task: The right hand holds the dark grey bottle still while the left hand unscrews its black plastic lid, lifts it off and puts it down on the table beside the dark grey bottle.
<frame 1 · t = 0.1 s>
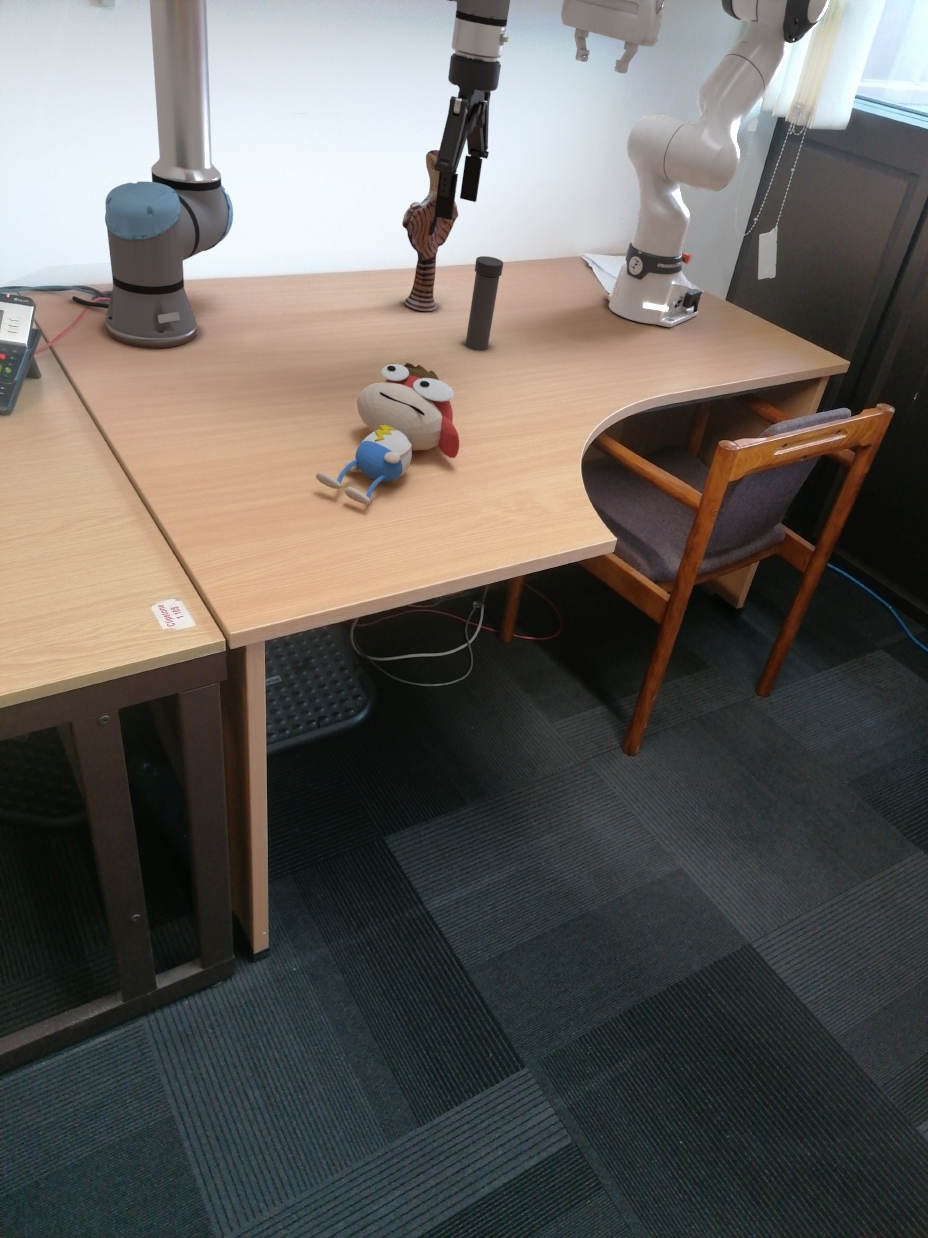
left hand: (456, 208, 144), 28 cm above the table, tool pointing down, fingers open, 13 cm apart
right hand: (600, 66, 156), 48 cm above the table, tool pointing down, fingers open, 8 cm apart
toy: (388, 459, 134), on the table
lid: (489, 262, 165), point 16 cm above the table, screwed on, not yet turned
figurine: (422, 306, 187), on the table
dark grey bottle: (476, 345, 175), on the table
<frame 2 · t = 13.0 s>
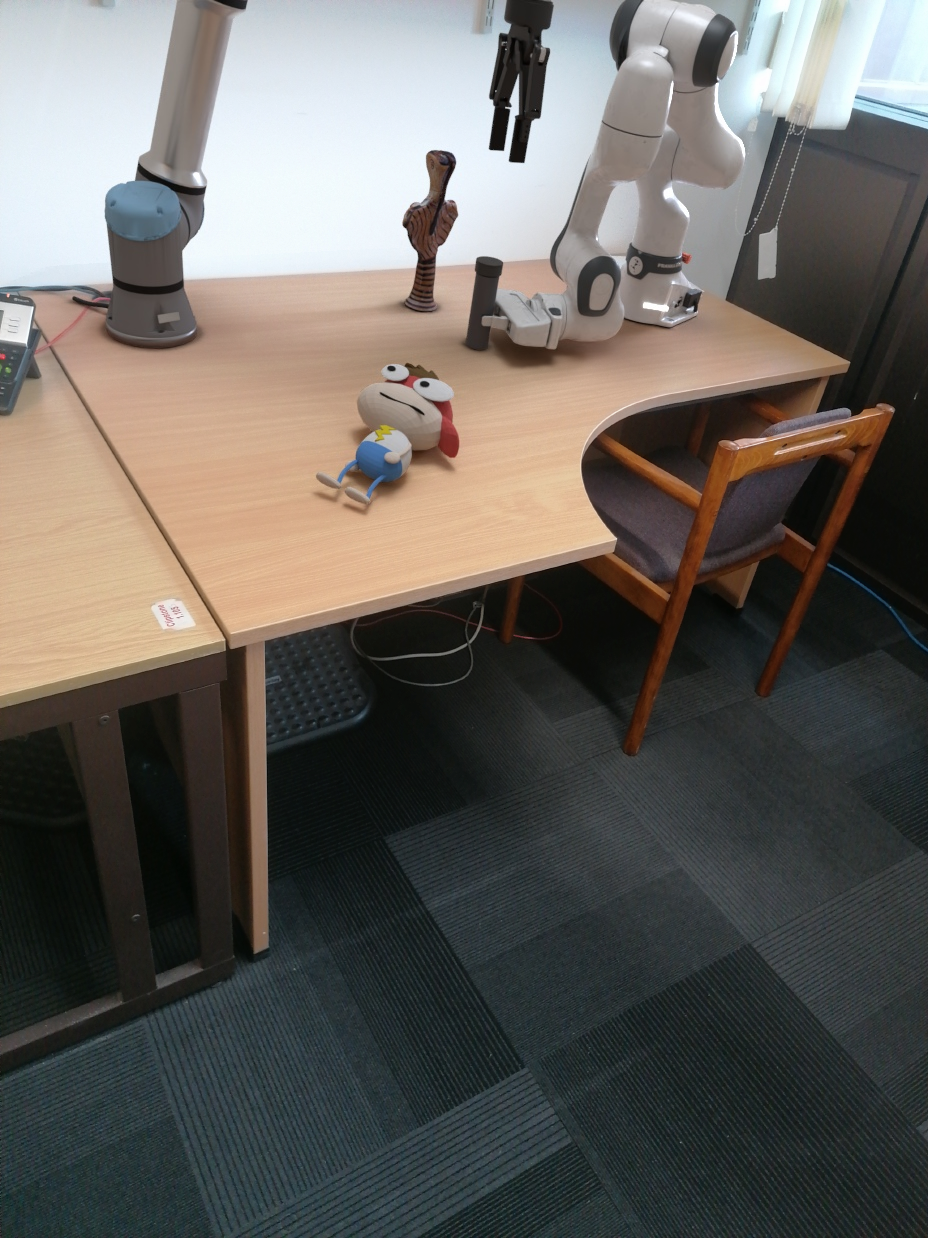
left hand: (506, 155, 153), 34 cm above the table, tool pointing down, fingers open, 7 cm apart
right hand: (477, 313, 170), 6 cm above the table, tool horizontal, fingers closed on dark grey bottle, 4 cm apart
dark grey bottle: (476, 345, 175), on the table, touching right hand
everything else where it was.
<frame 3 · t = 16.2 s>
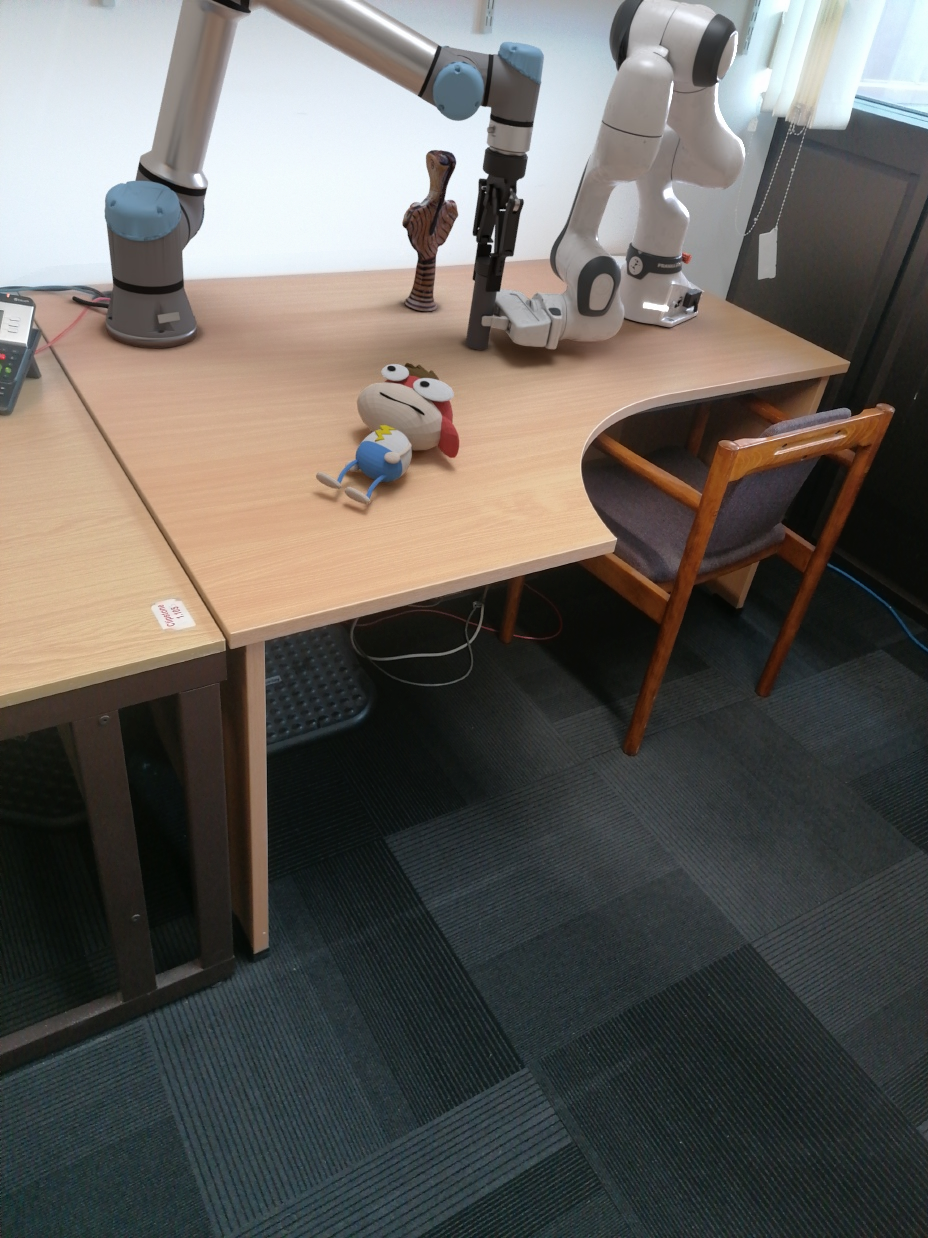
left hand: (486, 284, 167), 12 cm above the table, tool pointing down, fingers closed on lid, 5 cm apart
right hand: (477, 313, 170), 6 cm above the table, tool horizontal, fingers closed on dark grey bottle, 4 cm apart
lid: (489, 262, 165), point 16 cm above the table, screwed on, not yet turned, touching left hand
dark grey bottle: (476, 345, 175), on the table, touching right hand
everything else where it was.
when the left hand's fingers open (12 cm above the table, at t = 17.8 s): lid stays where it is, point 16 cm above the table.
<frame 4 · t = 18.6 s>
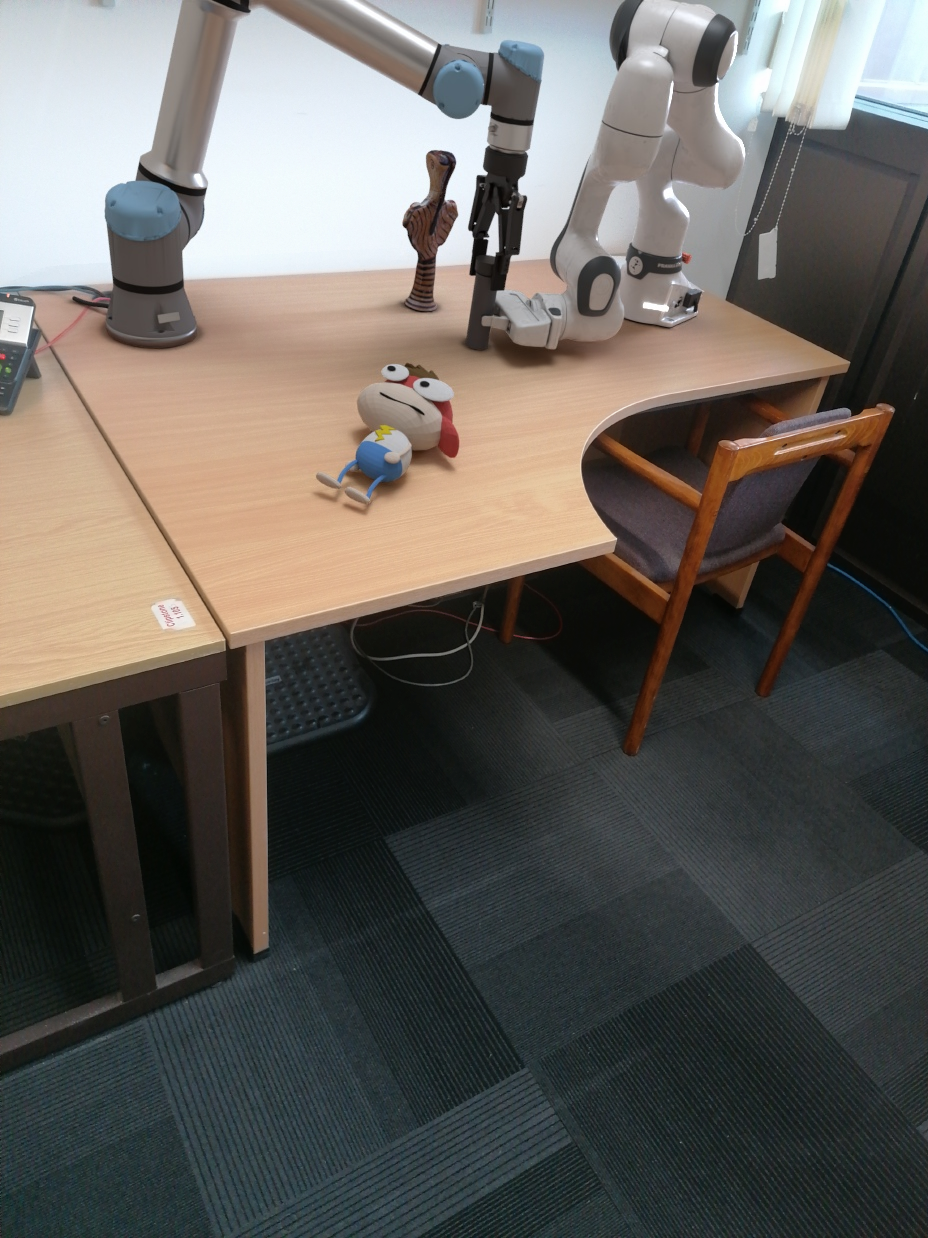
left hand: (486, 281, 167), 12 cm above the table, tool pointing down, fingers open, 7 cm apart
right hand: (477, 313, 170), 6 cm above the table, tool horizontal, fingers closed on dark grey bottle, 4 cm apart
lid: (489, 261, 165), point 16 cm above the table, turned 101° so far, risen 0.2 cm, still on its thread
dark grey bottle: (476, 345, 175), on the table, touching right hand
everything else where it was.
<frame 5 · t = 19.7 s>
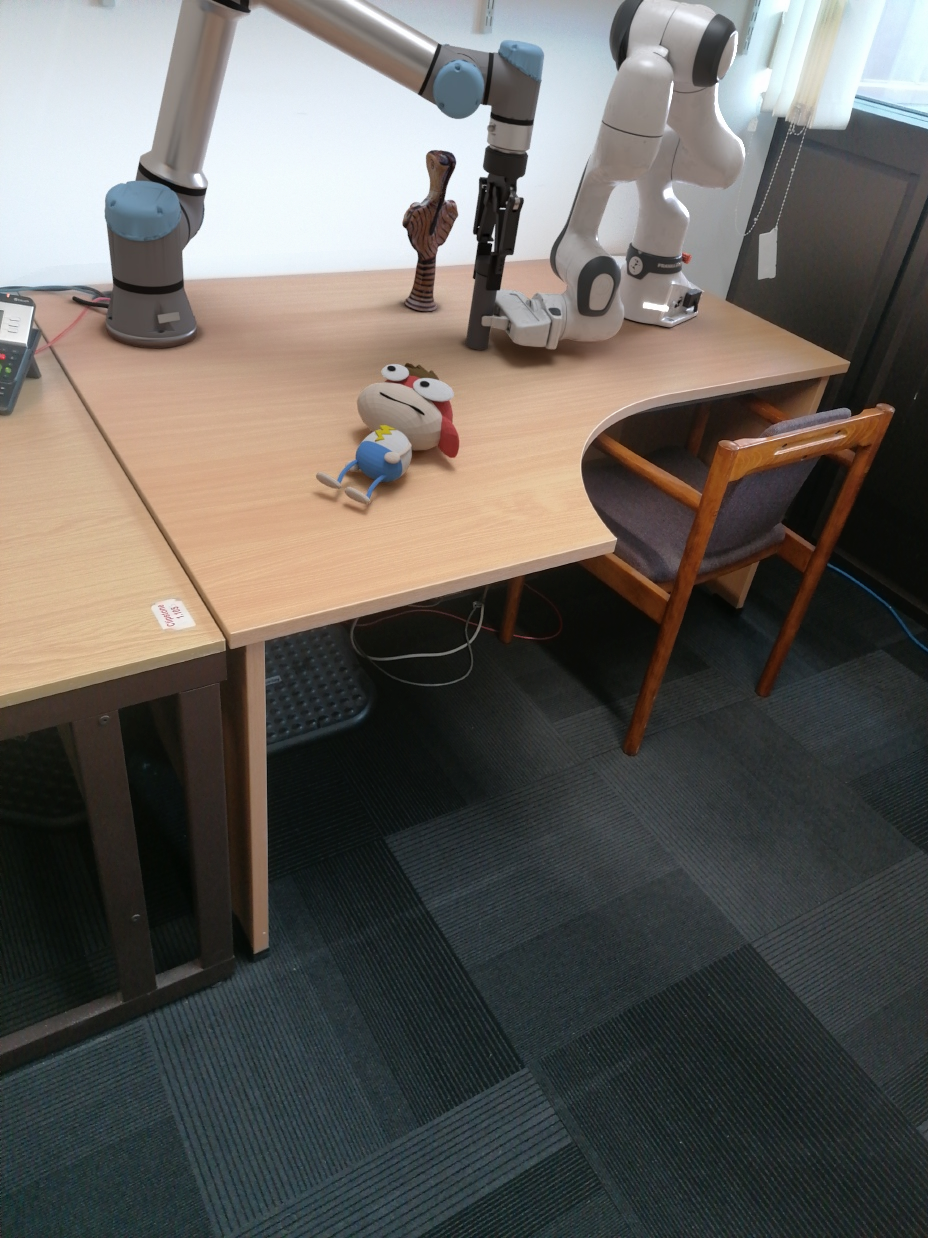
left hand: (486, 283, 167), 12 cm above the table, tool pointing down, fingers closed on lid, 5 cm apart
right hand: (477, 313, 170), 6 cm above the table, tool horizontal, fingers closed on dark grey bottle, 4 cm apart
lid: (489, 261, 165), point 16 cm above the table, turned 101° so far, risen 0.2 cm, still on its thread, touching left hand
dark grey bottle: (476, 345, 175), on the table, touching right hand
everything else where it was.
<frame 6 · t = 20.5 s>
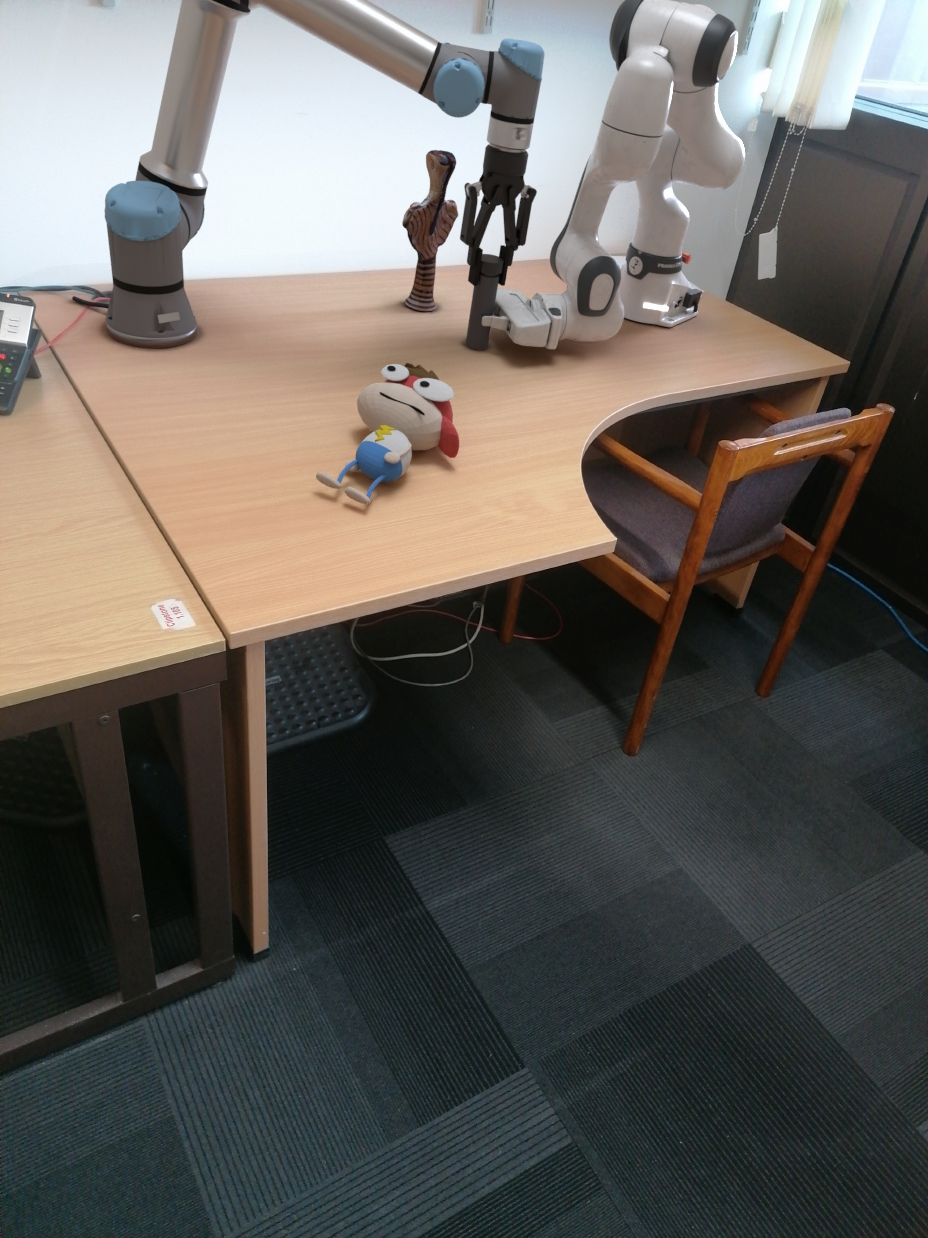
left hand: (486, 282, 167), 12 cm above the table, tool pointing down, fingers closed on lid, 5 cm apart
right hand: (477, 313, 170), 6 cm above the table, tool horizontal, fingers closed on dark grey bottle, 4 cm apart
lid: (489, 260, 164), point 16 cm above the table, off its thread, touching left hand
dark grey bottle: (476, 345, 175), on the table, touching right hand
everything else where it was.
when the left hand's fingers open (0 cm above the table, at t = 29.3 s): lid drops 3 cm, point 2 cm above the table.
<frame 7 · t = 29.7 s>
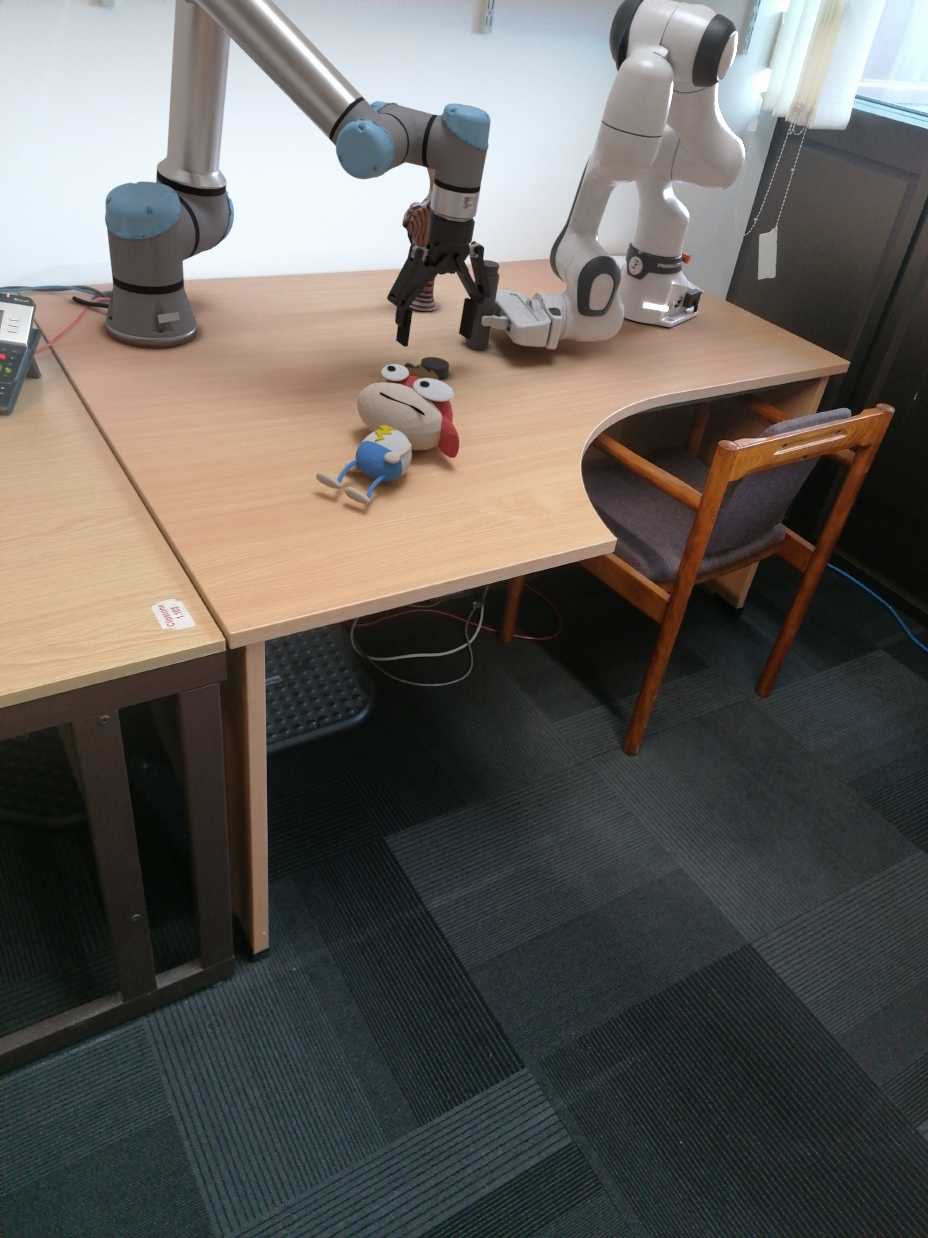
left hand: (433, 339, 158), 6 cm above the table, tool pointing down, fingers open, 13 cm apart
right hand: (477, 313, 170), 6 cm above the table, tool horizontal, fingers closed on dark grey bottle, 4 cm apart
lid: (434, 364, 160), point 2 cm above the table, off its thread
dark grey bottle: (476, 345, 175), on the table, touching right hand
everything else where it was.
when the right hand's fingers open (6 cm above the table, at t = 29.9 s): dark grey bottle stays where it is, on the table.
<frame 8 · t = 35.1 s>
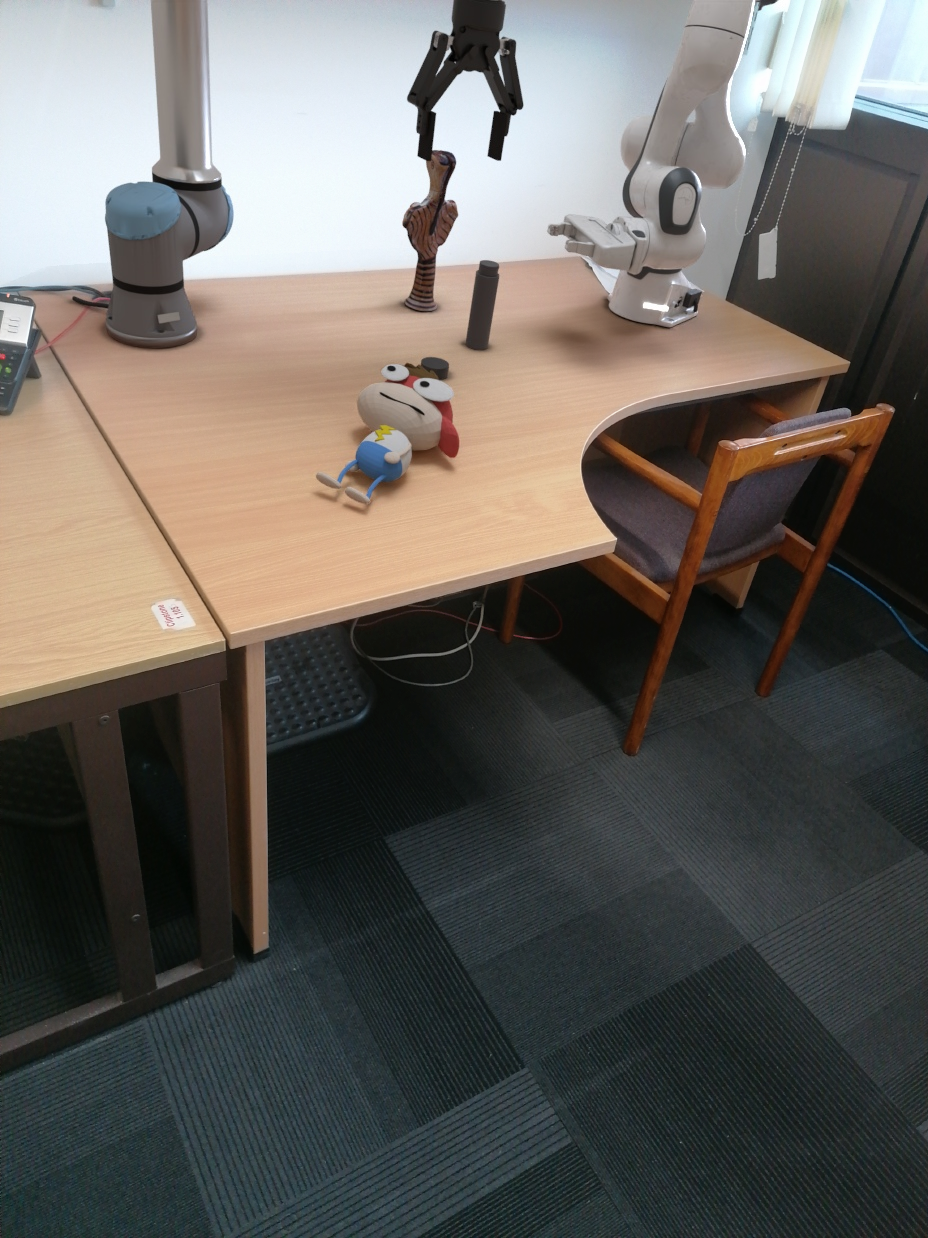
left hand: (460, 158, 139), 36 cm above the table, tool pointing down, fingers open, 13 cm apart
right hand: (557, 237, 165), 21 cm above the table, tool horizontal, fingers open, 8 cm apart
dark grey bottle: (476, 345, 175), on the table
everything else where it was.
at the end: lid came off its thread; lid point 1.7 cm above the table; the left hand is holding nothing; the right hand is holding nothing; dark grey bottle tilted 0°; dark grey bottle moved 0.0 cm from its start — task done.
